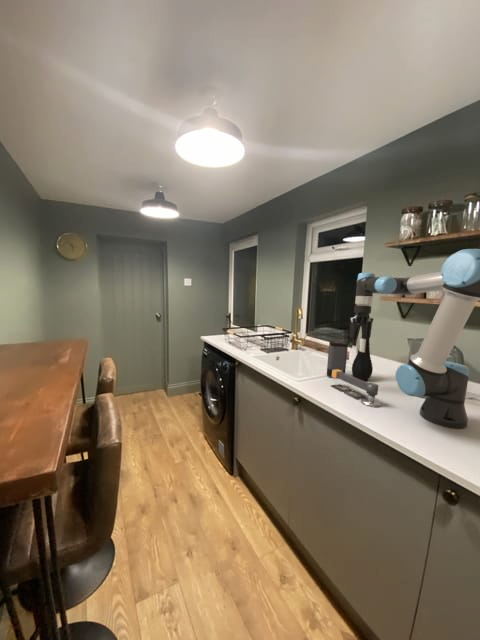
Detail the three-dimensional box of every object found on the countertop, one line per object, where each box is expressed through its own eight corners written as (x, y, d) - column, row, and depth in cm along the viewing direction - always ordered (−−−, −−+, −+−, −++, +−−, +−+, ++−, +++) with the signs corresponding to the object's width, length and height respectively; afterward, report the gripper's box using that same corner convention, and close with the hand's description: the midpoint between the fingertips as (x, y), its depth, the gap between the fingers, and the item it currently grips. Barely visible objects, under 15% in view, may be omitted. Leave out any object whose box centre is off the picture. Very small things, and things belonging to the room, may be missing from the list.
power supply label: (366, 398, 125) (366, 396, 125) (356, 399, 123) (356, 398, 123) (353, 391, 133) (353, 390, 133) (343, 393, 130) (343, 391, 130)
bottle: (347, 378, 154) (352, 325, 150) (355, 374, 161) (361, 324, 157) (366, 383, 146) (372, 328, 142) (374, 379, 153) (380, 326, 150)
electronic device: (342, 375, 157) (345, 341, 155) (345, 379, 152) (348, 343, 149) (325, 374, 158) (328, 340, 156) (328, 377, 152) (331, 342, 150)
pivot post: (385, 406, 118) (386, 396, 117) (371, 408, 114) (372, 398, 114) (369, 398, 125) (370, 389, 124) (356, 400, 122) (357, 391, 121)
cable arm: (379, 394, 118) (380, 385, 118) (372, 395, 116) (373, 386, 116) (337, 376, 141) (338, 368, 140) (331, 377, 139) (331, 369, 139)
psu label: (351, 391, 134) (351, 389, 133) (342, 392, 131) (342, 390, 131) (339, 385, 141) (339, 383, 141) (330, 386, 139) (330, 385, 138)
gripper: (369, 304, 140) (365, 349, 143) (343, 304, 133) (339, 350, 136) (382, 306, 133) (377, 352, 136) (355, 305, 127) (350, 354, 129)
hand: (358, 351), depth 136 cm, fingers open, 4 cm apart
